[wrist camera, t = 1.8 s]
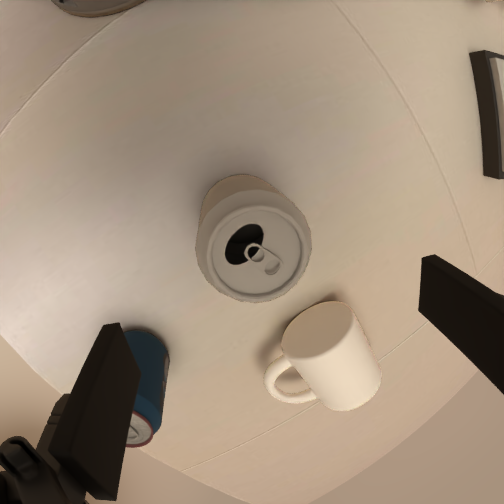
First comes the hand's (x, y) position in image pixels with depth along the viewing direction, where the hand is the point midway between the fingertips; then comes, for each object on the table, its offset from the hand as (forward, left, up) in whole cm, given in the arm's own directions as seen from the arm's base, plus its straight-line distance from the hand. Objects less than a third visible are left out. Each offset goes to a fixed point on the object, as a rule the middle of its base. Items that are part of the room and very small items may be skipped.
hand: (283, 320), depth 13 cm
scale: (-8, +38, -19) cm, 43 cm away
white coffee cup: (+17, +5, -19) cm, 26 cm away
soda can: (+13, -14, -19) cm, 27 cm away
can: (0, 0, -19) cm, 19 cm away
